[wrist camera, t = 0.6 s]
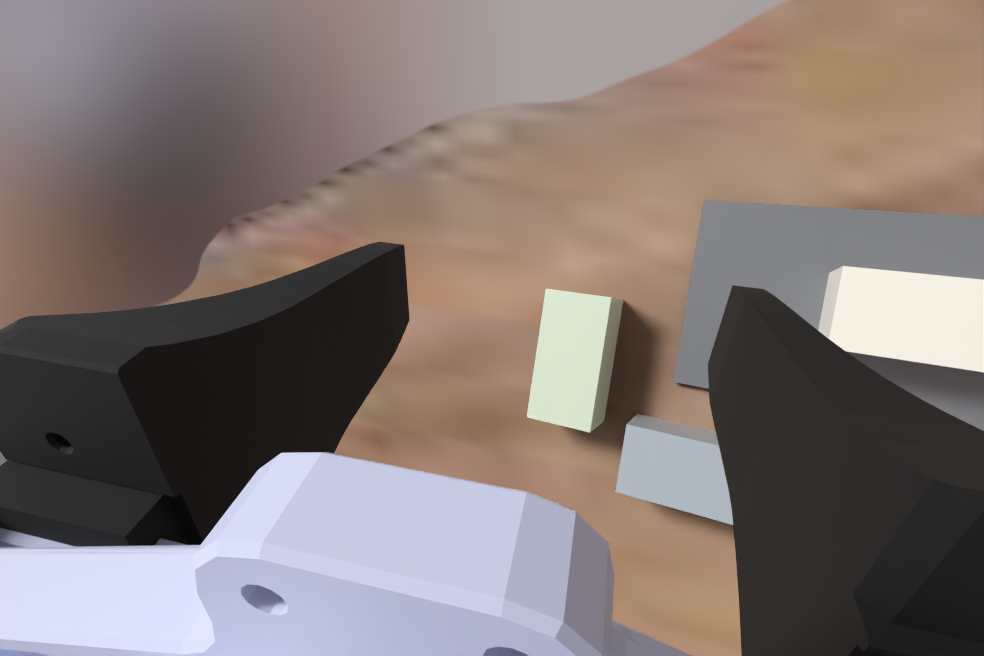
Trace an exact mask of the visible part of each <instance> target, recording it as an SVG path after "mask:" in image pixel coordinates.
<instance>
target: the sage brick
mask: <svg viewBox="0 0 984 656" xmlns="http://www.w3.org/2000/svg"><path fill="white" fill-rule="evenodd" d="M622 307H623V300H621V299H616V298H610V297H603V296H596V295H588V294H581V293H574V292H567V291H559V290H552V289H546V292H545V298H544V305H543V312H542V318H541V325H540V332H539V339H538V345H537V352H536V359H535V365H534V372H533V379H532V386H531V392H530V399H529V406H528V412H527V417H528V418H532V419H536V420H540V421H545V422H549V423H553V424H557V425H561V426H565V427H569V428H573V429H577V430H581V431H586V432H591V431H593V430H594V429H595V428H596V427H598V426H599V425H600V424H601V423H603V422H604V419H605V413H606V406H607V400H608V394H609V388H610V381H611V375H612V369H613V363H614V356H615V350H616V344H617V338H618V331H619V325H620V319H621V313H622Z"/></svg>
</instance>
